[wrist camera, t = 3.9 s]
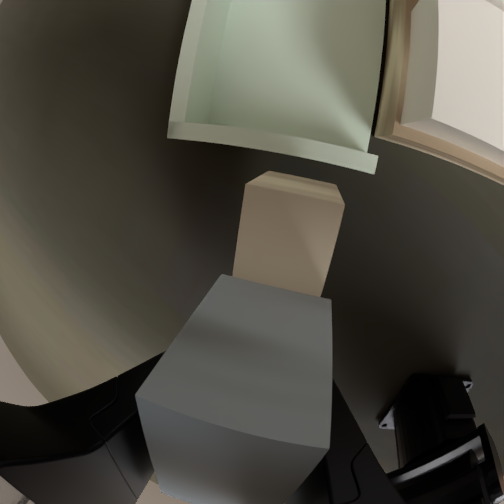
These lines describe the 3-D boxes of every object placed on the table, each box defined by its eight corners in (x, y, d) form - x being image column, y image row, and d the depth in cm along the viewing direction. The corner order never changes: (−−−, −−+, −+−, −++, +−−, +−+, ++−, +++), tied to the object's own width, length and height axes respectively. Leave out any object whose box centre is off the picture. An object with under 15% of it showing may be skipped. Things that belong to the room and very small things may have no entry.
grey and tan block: (285, 388, 14) (251, 535, 6) (228, 374, 14) (168, 511, 7) (344, 187, 10) (409, 311, 2) (260, 169, 10) (118, 242, 3)
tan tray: (513, 190, 12) (551, 205, 8) (374, 136, 14) (392, 134, 10) (520, 18, 7) (550, 3, 3) (390, -45, 8) (401, -79, 5)
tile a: (503, 166, 9) (549, 179, 6) (400, 124, 10) (431, 118, 6) (511, 61, 7) (553, 48, 4) (411, 11, 8) (436, -24, 4)
